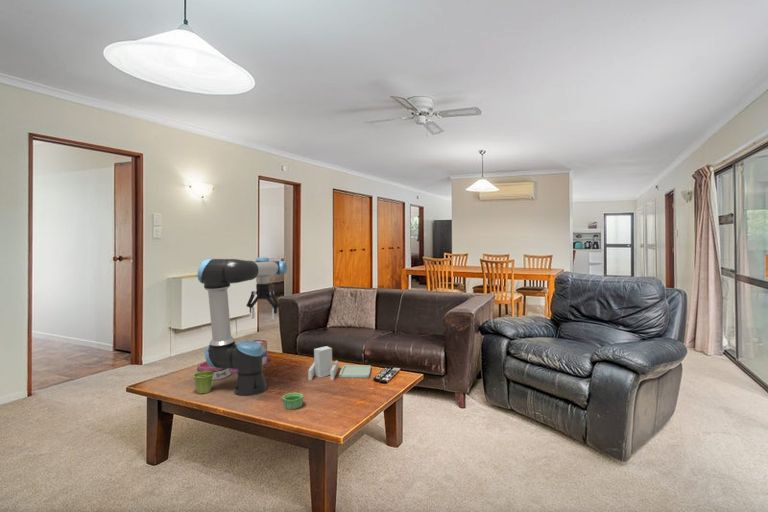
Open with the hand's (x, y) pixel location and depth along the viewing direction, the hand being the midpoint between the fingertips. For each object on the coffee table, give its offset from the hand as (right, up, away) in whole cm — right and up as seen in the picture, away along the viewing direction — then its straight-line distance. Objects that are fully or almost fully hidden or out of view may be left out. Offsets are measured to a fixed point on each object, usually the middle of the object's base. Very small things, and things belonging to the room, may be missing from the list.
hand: (263, 318), depth 250 cm
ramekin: (+32, -29, -65) cm, 78 cm away
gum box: (-5, -27, -7) cm, 29 cm away
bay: (+39, -27, -21) cm, 52 cm away
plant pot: (-16, -29, -46) cm, 56 cm away
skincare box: (+39, -27, -22) cm, 53 cm away
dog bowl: (-21, -28, -21) cm, 41 cm away
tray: (+56, -27, -19) cm, 65 cm away
